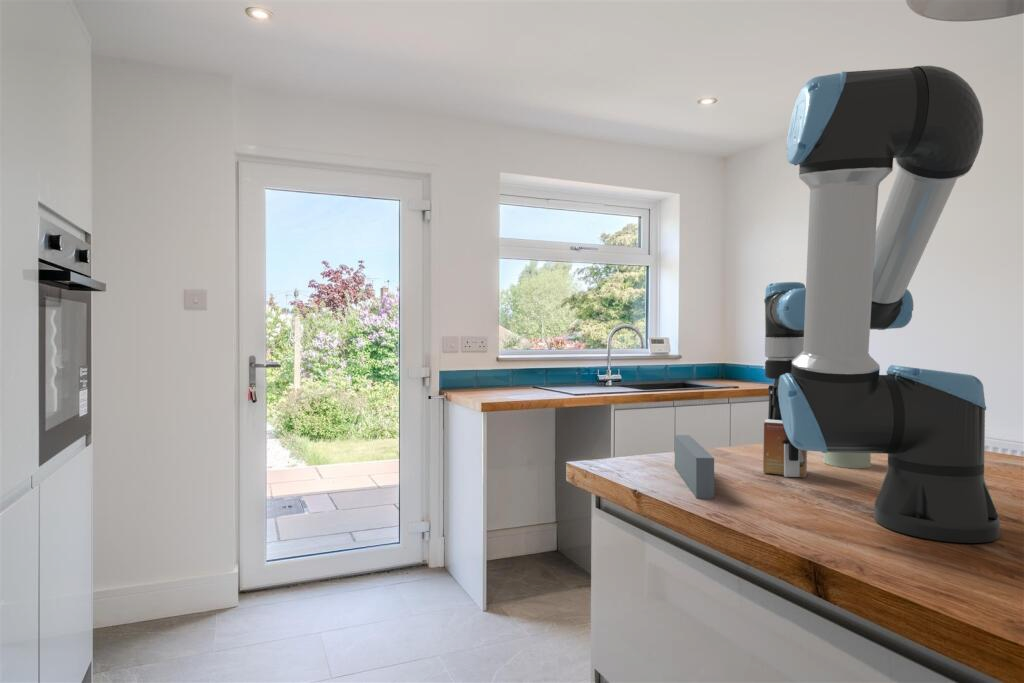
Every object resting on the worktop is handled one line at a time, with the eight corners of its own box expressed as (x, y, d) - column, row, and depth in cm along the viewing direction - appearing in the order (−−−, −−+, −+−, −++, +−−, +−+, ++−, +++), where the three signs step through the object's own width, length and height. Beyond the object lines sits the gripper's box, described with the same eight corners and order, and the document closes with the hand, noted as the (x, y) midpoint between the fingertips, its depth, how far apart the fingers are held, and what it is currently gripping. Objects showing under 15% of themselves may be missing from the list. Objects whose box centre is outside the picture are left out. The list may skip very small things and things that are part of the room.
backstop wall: (714, 498, 106) (714, 458, 106) (696, 498, 106) (696, 457, 106) (689, 468, 130) (689, 435, 130) (674, 467, 130) (674, 434, 130)
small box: (762, 473, 124) (762, 421, 124) (765, 468, 129) (765, 418, 129) (806, 477, 121) (806, 424, 121) (807, 472, 126) (807, 420, 126)
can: (880, 468, 128) (880, 411, 128) (836, 468, 129) (836, 411, 128) (856, 459, 138) (856, 406, 138) (815, 459, 138) (815, 406, 138)
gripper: (824, 361, 114) (824, 484, 115) (787, 357, 134) (787, 461, 135) (782, 361, 115) (782, 483, 115) (752, 357, 135) (752, 461, 135)
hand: (785, 471), depth 125 cm, fingers closed on small box, 7 cm apart
